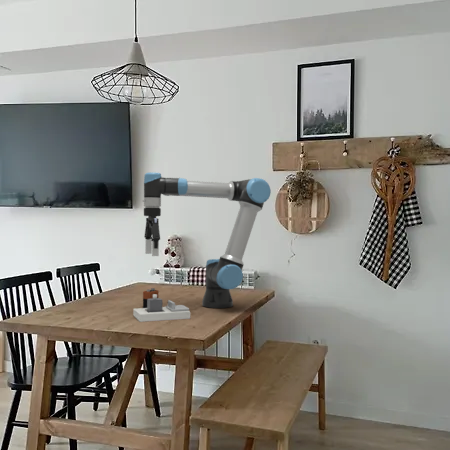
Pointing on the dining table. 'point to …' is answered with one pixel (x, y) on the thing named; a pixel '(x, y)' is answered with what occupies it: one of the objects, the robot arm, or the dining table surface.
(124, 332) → the dining table surface
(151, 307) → the plug
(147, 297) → the battery
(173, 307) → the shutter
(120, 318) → the dining table surface
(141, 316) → the faceplate
